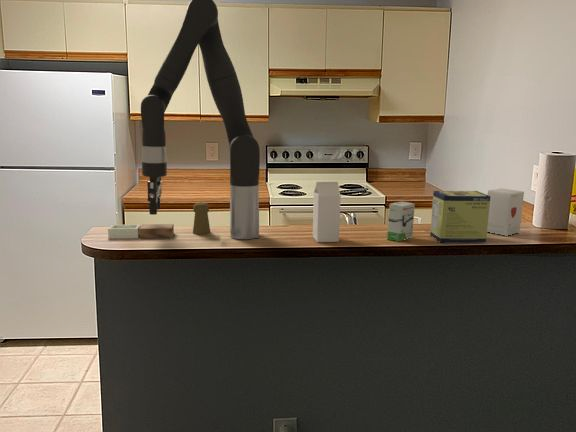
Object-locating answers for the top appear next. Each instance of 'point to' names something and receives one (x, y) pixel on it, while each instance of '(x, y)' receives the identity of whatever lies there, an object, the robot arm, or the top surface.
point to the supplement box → (505, 211)
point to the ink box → (400, 221)
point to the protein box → (460, 216)
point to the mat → (155, 238)
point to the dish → (123, 231)
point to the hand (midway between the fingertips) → (155, 211)
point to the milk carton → (326, 212)
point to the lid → (156, 230)
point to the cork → (201, 219)
